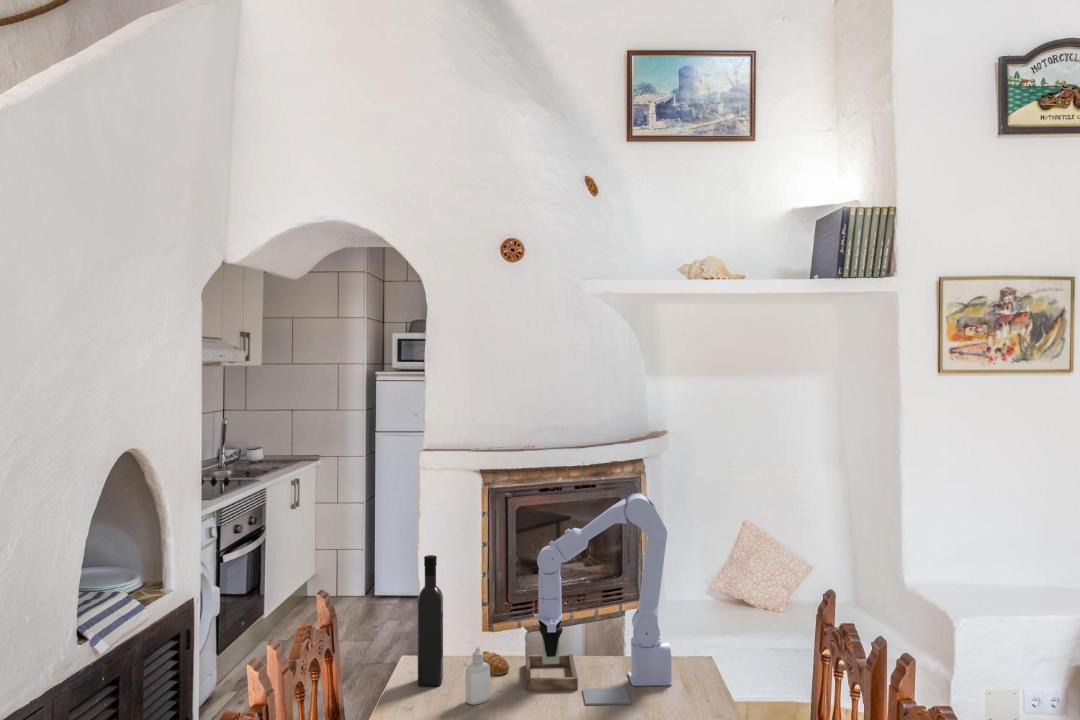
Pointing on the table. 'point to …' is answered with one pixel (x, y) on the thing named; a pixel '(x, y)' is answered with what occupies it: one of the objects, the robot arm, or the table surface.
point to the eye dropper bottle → (477, 679)
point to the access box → (551, 683)
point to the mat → (605, 696)
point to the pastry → (495, 663)
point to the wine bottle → (430, 628)
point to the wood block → (549, 659)
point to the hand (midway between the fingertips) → (550, 652)
